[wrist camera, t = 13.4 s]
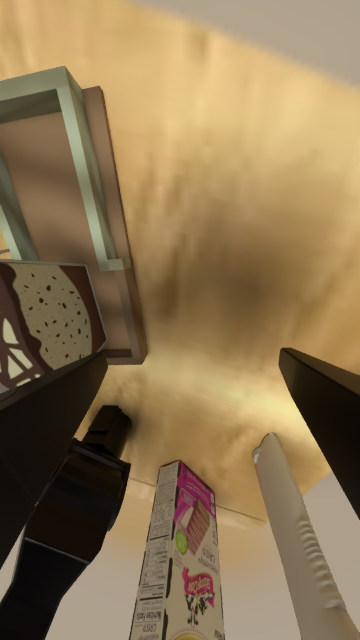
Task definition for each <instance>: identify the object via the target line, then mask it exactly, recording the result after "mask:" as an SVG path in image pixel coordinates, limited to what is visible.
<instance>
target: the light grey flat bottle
mask: <svg viewBox="0 0 360 640" xmlns="http://www.w3.org/2000/svg"><path fill="white" fill-rule="evenodd" d="M253 459H254V462H255V463H256V472H257V476H258V480H259V484H260V487H261V491H262V495H263V499H264V503H265V506H266V510H267V514H268V518H269V521H270V525H271V528H272V532H273V535H274V538H275V541H276V544H277V547H278V551H279V554H280V557H281V561H282V565H283V568H284V572H285V576H286V580H287V584H288V587H289V591H290V595H291V599H292V603H293V606H294V611H295V615H296V618H297V622H298V626H299V630H300V635H301V640H360V633H359V632H358V630H357V628H356V626H355V624H354V623H353V621H352V620H351V618H350V616H349V614H348V612H347V610H346V606H345V603H344V601H343V599H342V596H341V594H340V593H339V591H338V588H337V585H336V583H335V581H334V579H333V576H332V574H331V572H330V569H329V566H328V564H327V562H326V560H325V557H324V555H323V552H322V550H321V548H320V545H319V543H318V540H317V537H316V535H315V532H314V530H313V527H312V525H311V522H310V520H309V516H308V514H307V510H306V507H305V504H304V501H303V498H302V496H301V493H300V491H299V488H298V486H297V483H296V481H295V479H294V476H293V474H292V471H291V469H290V467H289V464H288V462H287V459H286V457H285V455H284V452H283V450H282V447H281V445H280V443H279V440H278V438H277V436H276V434H274V433H269V434H267V435H266V436H265V437H264V439H263V441H262V443H261V445H260V447H259V448H256V449H255V450H254V452H253Z"/></svg>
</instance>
